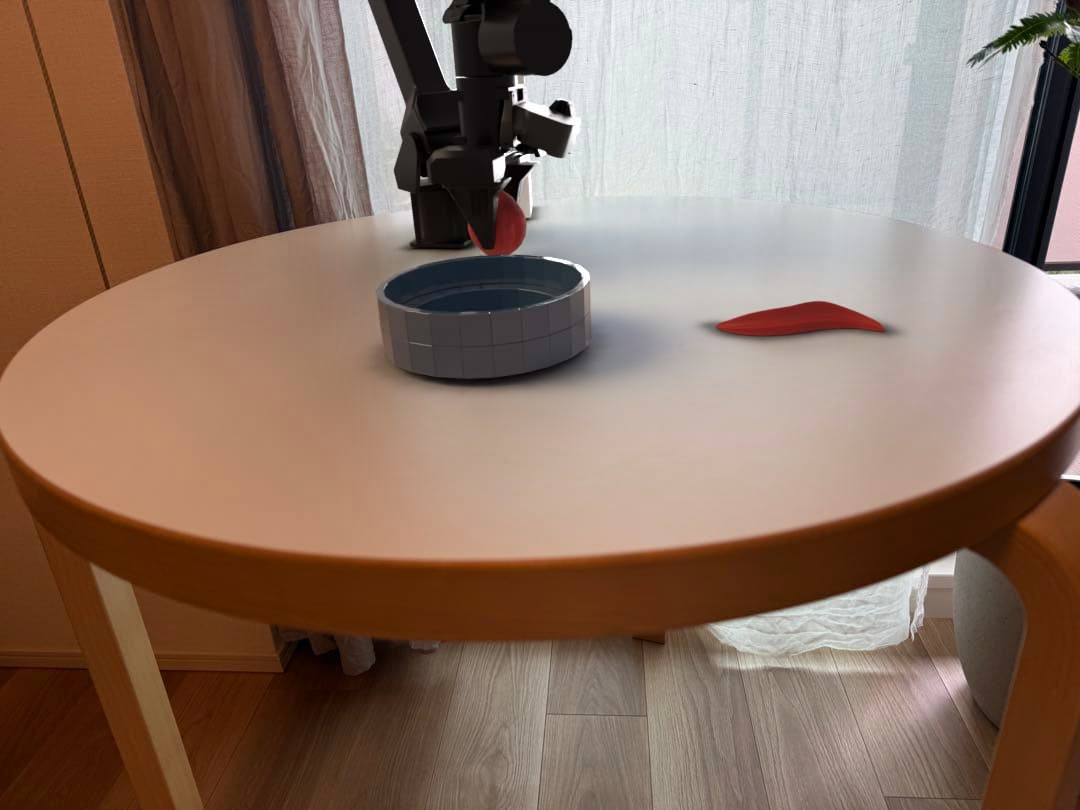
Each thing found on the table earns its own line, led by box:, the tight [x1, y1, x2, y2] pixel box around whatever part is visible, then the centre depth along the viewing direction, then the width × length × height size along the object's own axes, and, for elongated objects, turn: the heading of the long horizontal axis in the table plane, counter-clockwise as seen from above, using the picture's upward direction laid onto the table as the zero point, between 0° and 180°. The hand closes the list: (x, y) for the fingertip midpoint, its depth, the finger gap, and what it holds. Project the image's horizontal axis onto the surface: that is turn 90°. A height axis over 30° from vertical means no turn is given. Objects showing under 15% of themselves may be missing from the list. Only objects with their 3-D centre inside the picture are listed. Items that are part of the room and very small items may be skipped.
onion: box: [468, 190, 527, 255], centre depth 82 cm, size 6×6×8 cm
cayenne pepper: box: [715, 300, 886, 337], centre depth 61 cm, size 12×5×2 cm, turn 72°
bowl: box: [374, 254, 592, 380], centre depth 60 cm, size 15×15×5 cm
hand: (498, 242), depth 83 cm, fingers closed on onion, 6 cm apart
